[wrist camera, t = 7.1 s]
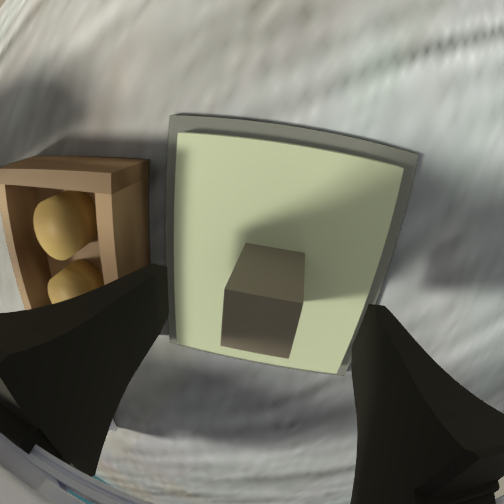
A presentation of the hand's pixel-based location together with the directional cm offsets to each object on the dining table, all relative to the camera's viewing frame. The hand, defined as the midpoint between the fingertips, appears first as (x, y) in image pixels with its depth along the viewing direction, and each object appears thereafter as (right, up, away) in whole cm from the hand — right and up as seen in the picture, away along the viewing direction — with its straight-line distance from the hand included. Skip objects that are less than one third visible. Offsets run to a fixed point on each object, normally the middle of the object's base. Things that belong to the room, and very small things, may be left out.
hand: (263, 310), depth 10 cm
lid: (+1, +1, +3) cm, 3 cm away
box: (-9, +2, +4) cm, 11 cm away
